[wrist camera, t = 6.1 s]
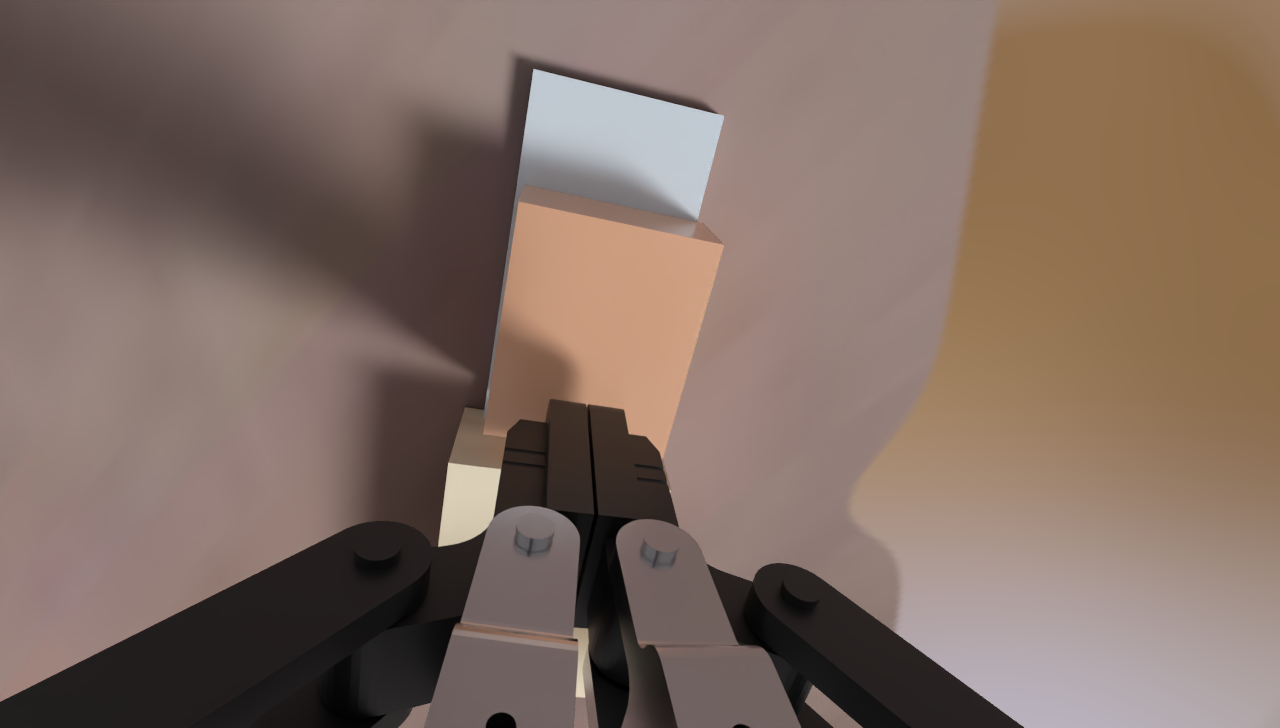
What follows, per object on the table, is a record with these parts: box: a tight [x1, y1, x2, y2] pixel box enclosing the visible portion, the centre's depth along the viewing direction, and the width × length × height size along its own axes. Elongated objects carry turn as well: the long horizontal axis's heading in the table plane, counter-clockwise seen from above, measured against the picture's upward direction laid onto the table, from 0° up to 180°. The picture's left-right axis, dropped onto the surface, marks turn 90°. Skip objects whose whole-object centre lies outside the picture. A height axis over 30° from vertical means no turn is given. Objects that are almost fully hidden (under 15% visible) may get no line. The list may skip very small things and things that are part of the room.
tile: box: [483, 185, 724, 459], centre depth 14 cm, size 5×4×2 cm
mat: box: [483, 69, 724, 418], centre depth 14 cm, size 8×4×1 cm, turn 167°
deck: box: [438, 407, 671, 697], centre depth 16 cm, size 7×5×2 cm
